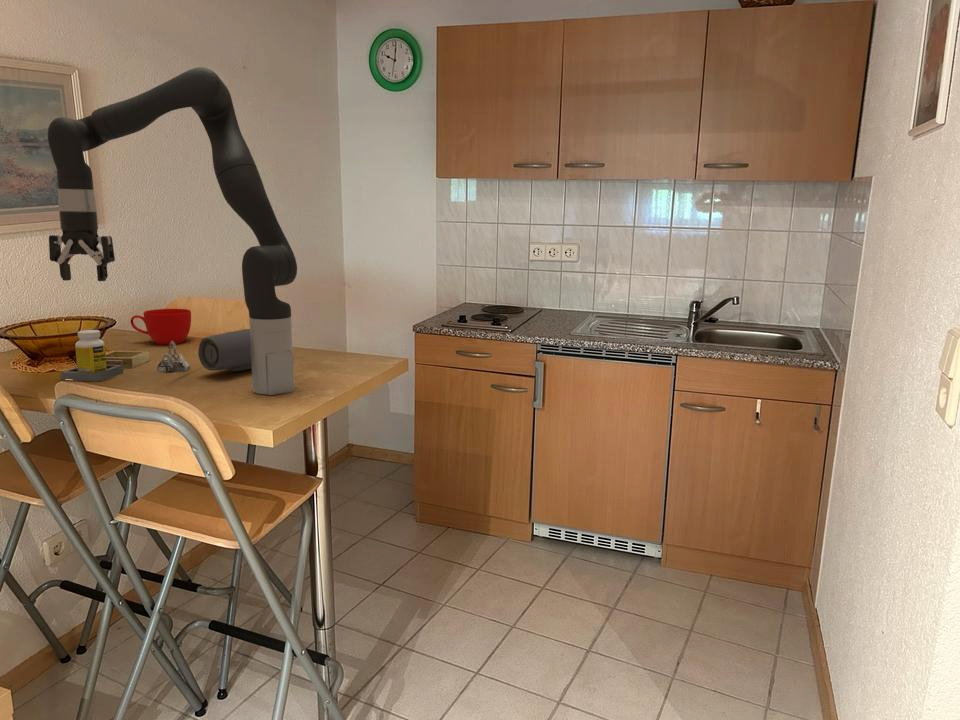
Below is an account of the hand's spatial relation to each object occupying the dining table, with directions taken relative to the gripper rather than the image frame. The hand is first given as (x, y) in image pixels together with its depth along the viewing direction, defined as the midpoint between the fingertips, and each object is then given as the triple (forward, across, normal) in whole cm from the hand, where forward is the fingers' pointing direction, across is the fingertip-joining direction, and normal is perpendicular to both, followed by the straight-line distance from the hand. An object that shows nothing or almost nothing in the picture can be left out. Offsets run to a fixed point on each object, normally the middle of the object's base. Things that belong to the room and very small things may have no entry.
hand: (84, 280), depth 168 cm
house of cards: (+24, -14, -8) cm, 29 cm away
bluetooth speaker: (+23, -32, -15) cm, 42 cm away
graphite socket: (+23, 0, 0) cm, 23 cm away
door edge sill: (+23, +2, -7) cm, 24 cm away
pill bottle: (+23, 0, 0) cm, 23 cm away
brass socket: (+23, +1, -15) cm, 27 cm away
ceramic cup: (+23, +5, -43) cm, 49 cm away
